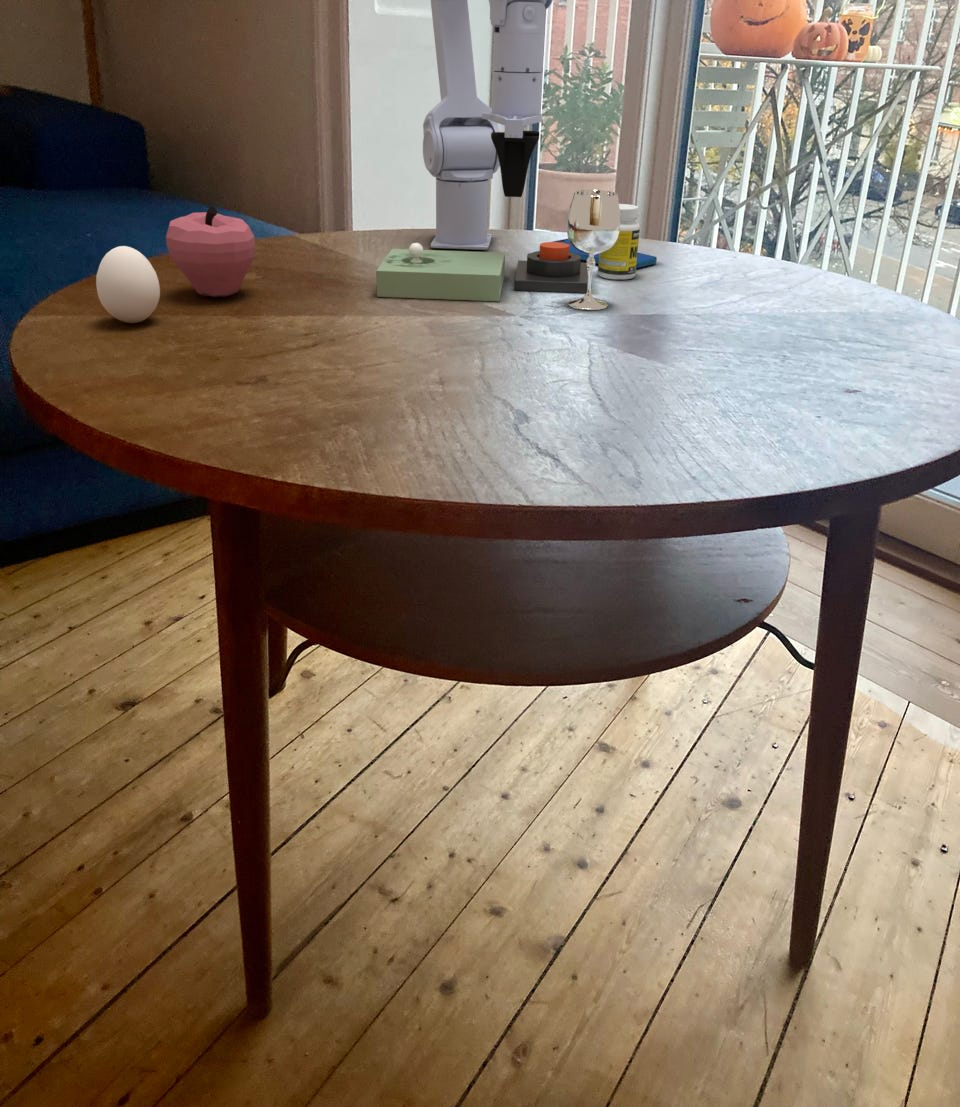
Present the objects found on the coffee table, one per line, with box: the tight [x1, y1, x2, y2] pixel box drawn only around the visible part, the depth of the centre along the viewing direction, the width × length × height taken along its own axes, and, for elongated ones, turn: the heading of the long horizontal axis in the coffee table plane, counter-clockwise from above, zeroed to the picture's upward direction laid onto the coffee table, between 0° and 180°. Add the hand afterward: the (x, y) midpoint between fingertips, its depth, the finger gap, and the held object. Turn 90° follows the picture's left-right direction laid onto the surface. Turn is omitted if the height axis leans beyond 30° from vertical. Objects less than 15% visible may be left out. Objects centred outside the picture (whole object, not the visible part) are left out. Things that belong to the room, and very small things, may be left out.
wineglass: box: [566, 189, 620, 311], centre depth 109 cm, size 6×6×12 cm
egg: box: [95, 245, 161, 324], centre depth 100 cm, size 6×6×8 cm
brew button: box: [538, 241, 570, 260], centre depth 120 cm, size 4×4×2 cm
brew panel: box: [514, 250, 588, 294], centre depth 121 cm, size 11×9×3 cm
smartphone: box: [552, 238, 658, 269], centre depth 133 cm, size 7×1×15 cm
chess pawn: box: [408, 242, 424, 264], centre depth 117 cm, size 3×3×5 cm
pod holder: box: [375, 248, 506, 302], centre depth 117 cm, size 12×14×3 cm
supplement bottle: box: [597, 203, 641, 281], centre depth 123 cm, size 5×5×8 cm
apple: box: [165, 205, 256, 298], centre depth 110 cm, size 10×9×10 cm
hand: (513, 196), depth 120 cm, fingers closed
